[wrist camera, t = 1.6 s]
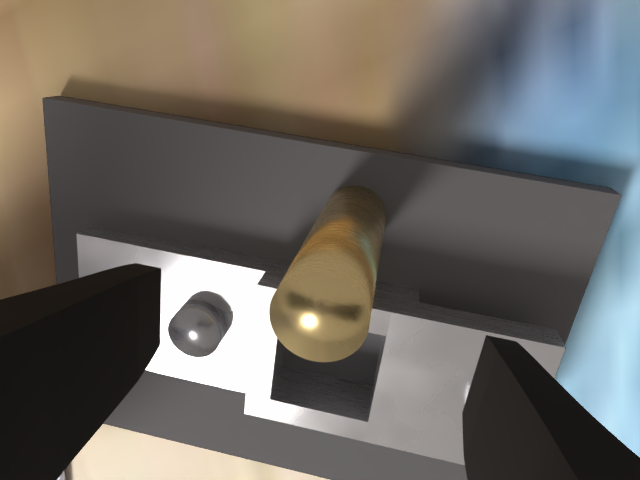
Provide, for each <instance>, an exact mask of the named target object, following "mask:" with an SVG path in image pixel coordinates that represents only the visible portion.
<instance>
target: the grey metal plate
mask: <svg viewBox="0 0 640 480" xmlns="http://www.w3.org/2000/svg"><path fill="white" fill-rule="evenodd" d="M76 235H77V252H78V270H79V278H80V277H84V276H87V275H90V274H94V273H97V272H101V271H104V270H108V269H111V268H115V267H119V266H123V265H128V264H134V263H138V264H143V265H148V266H153V267H157V268H161V324H160V346H159V348H158V350H157V351H156V353H155V355H154V356H153V358H152V360H151V361H150V363H149V365H148V366H147V368H146V369H145V370H147V371H151V372H156V373H160V374H164V375H169V376H173V377H178V378H182V379H186V380H191V381H195V382H199V383H204V384H208V385H212V386H217V387H221V388H225V389H230V390H234V391H238V392H243V393H246V400H245V411H244V414H249V415H253V416H257V417H261V418H266V419H270V420H274V421H278V422H283V423H287V424H291V425H295V426H300V427H304V428H308V429H312V430H317V431H321V432H325V433H329V434H334V435H338V436H342V437H346V438H351V439H355V440H359V441H363V442H368V443H372V444H376V445H380V446H385V447H389V448H393V449H397V450H402V451H406V452H410V453H414V454H419V455H423V456H427V457H431V458H436V459H440V460H444V461H448V462H453V463H457V464H461V465H465V462H464V452H463V424H462V412H463V409H464V405H465V402H466V399H467V396H468V392H469V389H470V386H471V383H472V379H473V376H474V373H475V370H476V366H477V363H478V360H479V356H480V353H481V350H482V347H483V343H484V340H485V337H486V335H488V336H493V337H498V338H503V339H508V340H513V341H516V342H518V343H519V344H520V345H521V346H522V347H523V348H524V349H525V350H526V351H528V352H529V353H530V354H531V355H532V356H533V357H534V358H535V359H536V360H537V361H538V362H539V363H540V365H541V366H542V367H543V368H544V369H545V370H546V371H547V372H548V373H549V374H550V375H551V376H552V377H553V378H555V375H556V373H557V370H558V367H559V365H560V362H561V359H562V357H563V354H564V352H565V349H566V347H565V345H564V343H563V342H562V340H561V338H560V336H559V334H558V332H557V330H555V329H550V328H545V327H540V326H535V325H530V324H525V323H520V322H515V321H510V320H505V319H500V318H495V317H490V316H485V315H480V314H475V313H470V312H465V311H460V310H455V309H450V308H445V307H440V306H435V305H430V304H425V303H420V302H419V288H415V287H410V286H405V285H400V284H394V283H389V282H384V281H379V280H376V286H375V293H374V299H373V306H372V312H371V319H370V325H369V331H368V332H369V333H374V334H378V335H383V337H382V342H381V346H380V351H379V356H378V360H377V365H376V370H375V374H374V379H373V384H369V383H364V382H360V381H355V380H351V379H346V378H342V377H337V376H333V375H328V374H324V373H319V372H315V371H310V370H305V369H301V368H296V367H292V366H287V365H284V362H285V354H286V347H285V346H284V345H283V344H282V343H281V342H280V341H279V339H278V338H277V337H276V335H275V333H274V331H273V329H272V326H271V323H270V317H269V308H270V303H271V300H272V297H273V295H274V293H275V292H276V290H277V288H278V286H279V285H280V283H281V281H282V279H283V278H284V276H285V274H286V272H287V271H288V269H289V267H290V265H291V264H292V263H288V262H283V261H278V260H273V259H268V258H263V257H258V256H252V255H247V254H242V253H237V252H232V251H227V250H222V249H217V248H212V247H207V246H202V245H197V244H192V243H186V242H181V241H176V240H171V239H166V238H161V237H156V236H151V235H146V234H141V233H136V232H131V231H126V230H121V229H115V228H110V227H105V226H100V225H95V224H94V225H92V226H90V227H88V228H86V229H84V230H82V231H80V232H79V233H77V234H76Z"/></svg>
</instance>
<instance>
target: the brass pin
mask: <svg viewBox="0 0 640 480" xmlns="http://www.w3.org/2000/svg"><path fill="white" fill-rule="evenodd" d="M385 221H386V211H385V207H384V205H383V202H382V201H381V199H380V198H379V197H378V196H377V195H376V194H375V193H374V192H373V191H371V190H369V189H367V188H365V187H361V186H347V187H343V188H341V189H339V190H337V191H336V192H335V193H333V194H332V195H331V197H330V198H329V199H328V201H327V203H326V204H325V206H324V208H323V210H322V211H321V213H320V215H319V217H318V218H317V220H316V222H315V224H314V225H313V227H312V229H311V231H310V232H309V234H308V236H307V238H306V239H305V241H304V243H303V245H302V246H301V248H300V250H299V251H298V253H297V255H296V257H295V258H294V260H293V262H292V264H291V265H290V267H289V269H288V271H287V272H286V274H285V276H284V278H283V279H282V281H281V283H280V285H279V286H278V288H277V290H276V292H275V293H274V295H273V297H272V300H271V303H270V308H269V317H270V323H271V326H272V329H273V331H274V333H275V335H276V337H277V338H278V339H279V341H280V342H281V343H282V344H283V345H284V346H285V347H286V348H287V349H288V350H289V351H291V352H292V353H294V354H296V355H297V356H299V357H302V358H304V359H307V360H311V361H316V362H333V361H338V360H341V359H344V358H346V357H348V356H350V355H351V354H353V353H354V352H355V351H357V350H358V349H359V348H360V346H361V345H362V344H363V342H364V341H365V339H366V337H367V334H368V331H369V325H370V319H371V312H372V306H373V299H374V293H375V286H376V280H377V273H378V267H379V260H380V254H381V247H382V241H383V234H384V228H385Z"/></svg>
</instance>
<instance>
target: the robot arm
mask: <svg viewBox="0 0 640 480" xmlns="http://www.w3.org/2000/svg"><path fill="white" fill-rule="evenodd" d="M160 324H161V268H157V267H153V266H148V265H143V264H138V263H134V264H128V265H123V266H119V267H115V268H111V269H108V270H104V271H101V272H97V273H94V274H90V275H87V276H84V277H80V278H77V279H74V280H70V281H67V282H64V283H60V284H57V285H53V286H50V287H47V288H43V289H39V290H36V291H32V292H28V293H24V294H21V295H17V296H13V297H9V298H5V299H2V300H0V480H65V471H64V470H65V469H66V467H67V466H68V465H69V464H70V462H71V461H72V460H73V459H74V457H75V456H76V455H77V454H78V453H79V451H80V450H81V449H82V448H83V447H84V446H85V444H86V443H87V442H88V441H89V440H90V438H91V437H92V436H93V435H94V434H95V432H96V431H97V430H98V429H99V428H100V426H101V425H102V424H103V423H104V422H105V421H106V419H107V418H108V417H109V416H110V415H111V413H112V412H113V411H114V410H115V409H116V407H117V406H118V405H119V404H120V403H121V401H122V400H123V399H124V398H125V396H126V395H127V394H128V393H129V392H130V390H131V389H132V388H133V387H134V385H135V384H136V383H137V382H138V380H139V379H140V377H141V376H142V374H143V373H144V371H145V369H146V368H147V366H148V365H149V363H150V361H151V360H152V358H153V356H154V355H155V353H156V351H157V350H158V348H159V346H160ZM462 424H463V452H464V462H465V469H466V475H467V480H640V458H639V457H638V456H637V455H636V454H635V453H633V452H632V451H631V450H630V449H629V448H627V447H626V446H625V445H624V444H623V443H622V442H621V441H620V440H618V439H617V438H616V437H615V436H614V435H613V434H612V433H611V432H609V431H608V430H607V429H606V428H605V427H604V426H603V425H602V424H601V423H599V422H598V421H597V420H596V419H595V418H594V417H593V416H592V415H591V414H590V413H589V412H588V411H587V410H586V409H584V408H583V407H582V406H581V405H580V404H579V403H578V402H577V401H576V400H575V399H574V398H573V397H572V396H571V395H570V394H569V393H568V392H567V391H566V390H565V389H564V388H563V387H562V386H561V385H560V384H559V383H558V382H557V381H556V380H555V379H554V378H553V377H552V376H551V375H550V374H549V373H548V372H547V371H546V370H545V369H544V368H543V367H542V366H541V365H540V363H539V362H538V361H537V360H536V359H535V358H534V357H533V356H532V355H531V354H530V353H529V352H528V351H526V350H525V349H524V348H523V347H522V346H521V345H520V344H519V343H518V342H516V341H513V340H508V339H503V338H498V337H493V336H488V335H486V337H485V340H484V343H483V347H482V350H481V353H480V356H479V360H478V363H477V366H476V370H475V373H474V376H473V379H472V383H471V386H470V389H469V392H468V396H467V399H466V402H465V405H464V409H463V412H462Z"/></svg>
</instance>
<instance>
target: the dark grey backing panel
mask: <svg viewBox="0 0 640 480" xmlns="http://www.w3.org/2000/svg"><path fill="white" fill-rule="evenodd" d="M43 111H44V124H45V137H46V150H47V163H48V176H49V189H50V203H51V216H52V229H53V242H54V255H55V268H56V281H57V284H60V283H64V282H67V281H70V280H74V279H77V278H79V270H78V252H77V235H76V234H77V233H79V232H80V231H82V230H84V229H86V228H88V227H90V226H92V225H94V224H95V225H100V226H105V227H110V228H115V229H121V230H126V231H131V232H136V233H141V234H146V235H151V236H156V237H161V238H166V239H171V240H176V241H181V242H186V243H192V244H197V245H202V246H207V247H212V248H217V249H222V250H227V251H232V252H237V253H242V254H247V255H252V256H258V257H263V258H268V259H273V260H278V261H283V262H288V263H292V262H293V260H294V258H295V257H296V255H297V253H298V251H299V250H300V248H301V246H302V245H303V243H304V241H305V239H306V238H307V236H308V234H309V232H310V231H311V229H312V227H313V225H314V224H315V222H316V220H317V218H318V217H319V215H320V213H321V211H322V210H323V208H324V206H325V204H326V203H327V201H328V199H329V198H330V197H331V195H332V194H333V193H335V192H336V191H337V190H339V189H341V188H343V187H347V186H361V187H365V188H367V189H369V190H371V191H373V192H374V193H375V194H376V195H377V196H378V197H379V198H380V199H381V201H382V202H383V205H384V207H385V211H386V221H385V228H384V234H383V241H382V247H381V254H380V260H379V267H378V273H377V280H379V281H384V282H389V283H394V284H400V285H405V286H410V287H415V288H419V302H420V303H425V304H430V305H435V306H440V307H445V308H450V309H455V310H460V311H465V312H470V313H475V314H480V315H485V316H490V317H495V318H500V319H505V320H510V321H515V322H520V323H525V324H530V325H535V326H540V327H545V328H550V329H555V330H557V332H558V334H559V336H560V338H561V340H562V342H563V343H564V345H565V343H566V340H567V338H568V335H569V332H570V330H571V327H572V324H573V322H574V319H575V316H576V314H577V311H578V309H579V306H580V303H581V301H582V298H583V295H584V293H585V290H586V287H587V285H588V282H589V280H590V277H591V274H592V272H593V269H594V266H595V264H596V261H597V258H598V256H599V253H600V251H601V248H602V245H603V243H604V240H605V237H606V235H607V232H608V230H609V227H610V224H611V222H612V219H613V216H614V214H615V211H616V208H617V206H618V203H619V201H620V198H621V195H620V194H619V193H617V192H616V191H614V190H613V189H611V188H608V187H602V186H596V185H590V184H584V183H578V182H572V181H566V180H560V179H554V178H548V177H542V176H536V175H530V174H524V173H518V172H512V171H506V170H500V169H494V168H488V167H482V166H476V165H470V164H464V163H458V162H452V161H446V160H440V159H434V158H428V157H422V156H416V155H410V154H404V153H398V152H392V151H386V150H380V149H374V148H368V147H362V146H356V145H350V144H344V143H338V142H332V141H326V140H320V139H314V138H308V137H302V136H296V135H290V134H284V133H278V132H272V131H266V130H260V129H254V128H248V127H242V126H236V125H230V124H224V123H218V122H212V121H206V120H200V119H194V118H188V117H182V116H176V115H170V114H164V113H158V112H152V111H146V110H140V109H134V108H128V107H122V106H116V105H110V104H104V103H98V102H92V101H86V100H80V99H74V98H69V97H63V96H54V97H46V98H43ZM382 337H383V335H378V334H374V333H369V332H368V334H367V337H366V339H365V341H364V342H363V344H362V345H361V346H360V348H359V349H358V350H357V351H355V352H354V353H353V354H351V355H350V356H348V357H346V358H344V359H341V360H338V361H333V362H316V361H311V360H307V359H304V358H302V357H299V356H297V355H296V354H294V353H292V352H291V351H289V350H288V349H287V348H286V354H285V362H284V365H287V366H292V367H296V368H301V369H305V370H310V371H315V372H319V373H324V374H328V375H333V376H337V377H342V378H346V379H351V380H355V381H360V382H364V383H369V384H373V379H374V374H375V370H376V365H377V360H378V356H379V351H380V346H381V342H382ZM245 400H246V393H243V392H238V391H234V390H230V389H225V388H221V387H217V386H212V385H208V384H204V383H199V382H195V381H191V380H186V379H182V378H178V377H173V376H169V375H164V374H160V373H156V372H151V371H147V370H145V371H144V373H143V374H142V376H141V377H140V379H139V380H138V382H137V383H136V384H135V385H134V387H133V388H132V389H131V390H130V392H129V393H128V394H127V395H126V396H125V398H124V399H123V400H122V401H121V403H120V404H119V405H118V406H117V407H116V409H115V410H114V411H113V412H112V413H111V415H110V416H109V417H108V418H107V419H106V421H105V422H104V423H103V424H107V425H111V426H115V427H119V428H123V429H127V430H131V431H135V432H139V433H144V434H148V435H152V436H156V437H160V438H164V439H168V440H172V441H176V442H180V443H184V444H188V445H192V446H196V447H200V448H205V449H209V450H213V451H217V452H221V453H225V454H229V455H233V456H237V457H241V458H245V459H249V460H253V461H257V462H261V463H266V464H270V465H274V466H278V467H282V468H286V469H290V470H294V471H298V472H302V473H306V474H310V475H314V476H318V477H323V478H327V479H331V480H467V475H466V469H465V465H461V464H457V463H453V462H448V461H444V460H440V459H436V458H431V457H427V456H423V455H419V454H414V453H410V452H406V451H402V450H397V449H393V448H389V447H385V446H380V445H376V444H372V443H368V442H363V441H359V440H355V439H351V438H346V437H342V436H338V435H334V434H329V433H325V432H321V431H317V430H312V429H308V428H304V427H300V426H295V425H291V424H287V423H283V422H278V421H274V420H270V419H266V418H261V417H257V416H253V415H249V414H244V411H245Z"/></svg>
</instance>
